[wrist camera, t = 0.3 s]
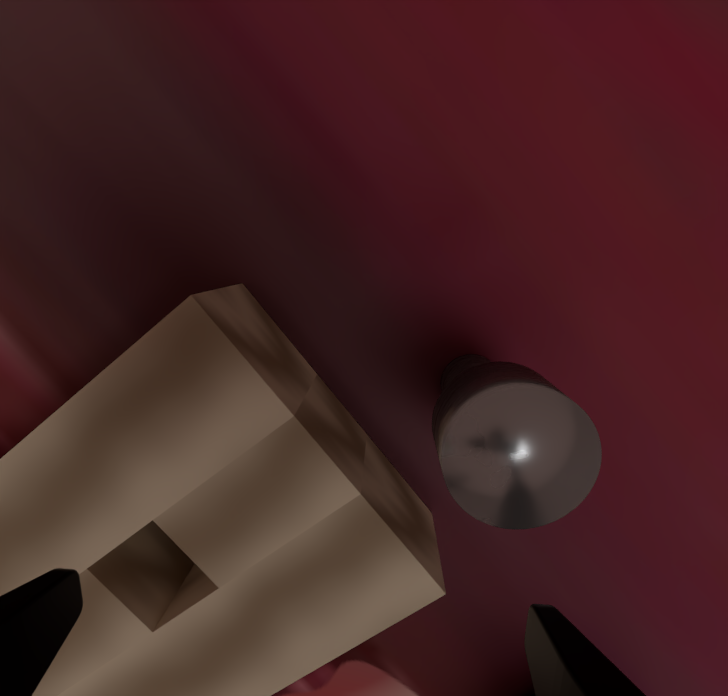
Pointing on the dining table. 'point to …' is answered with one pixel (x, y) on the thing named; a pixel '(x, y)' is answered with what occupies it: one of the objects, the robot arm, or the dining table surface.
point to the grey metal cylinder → (512, 444)
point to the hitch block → (212, 515)
